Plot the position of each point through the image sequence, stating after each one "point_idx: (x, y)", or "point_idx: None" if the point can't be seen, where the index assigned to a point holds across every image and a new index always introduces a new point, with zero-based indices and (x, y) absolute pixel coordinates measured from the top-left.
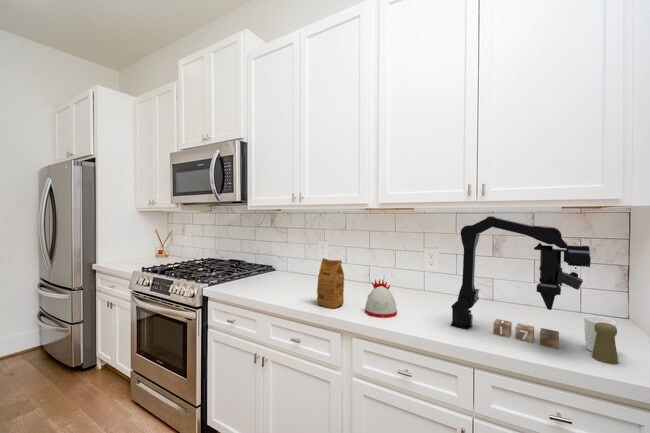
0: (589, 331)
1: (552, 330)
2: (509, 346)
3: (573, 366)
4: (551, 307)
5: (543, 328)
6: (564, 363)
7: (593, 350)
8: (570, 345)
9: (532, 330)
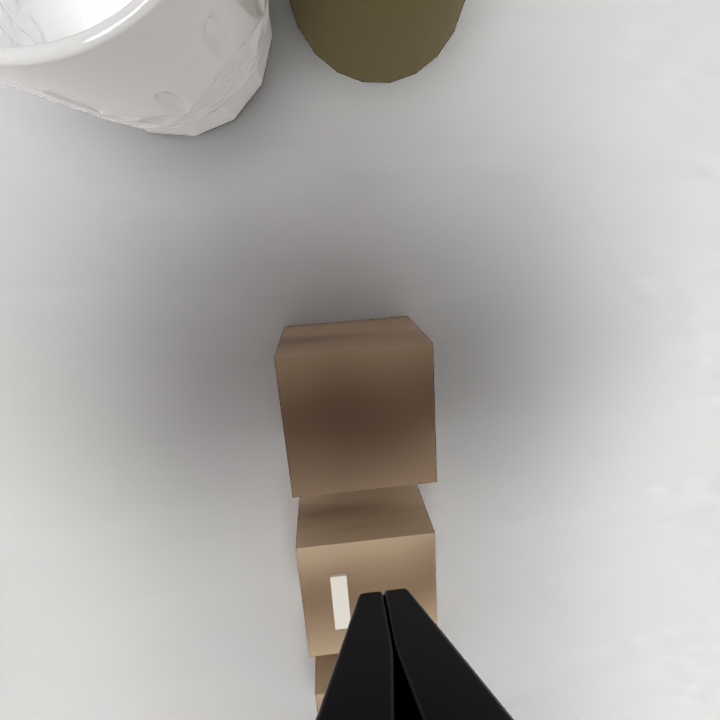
0: (229, 38)
1: (292, 409)
2: (579, 553)
3: (687, 192)
4: (437, 627)
5: (293, 479)
6: (667, 247)
7: (403, 50)
8: (236, 249)
9: (433, 533)
